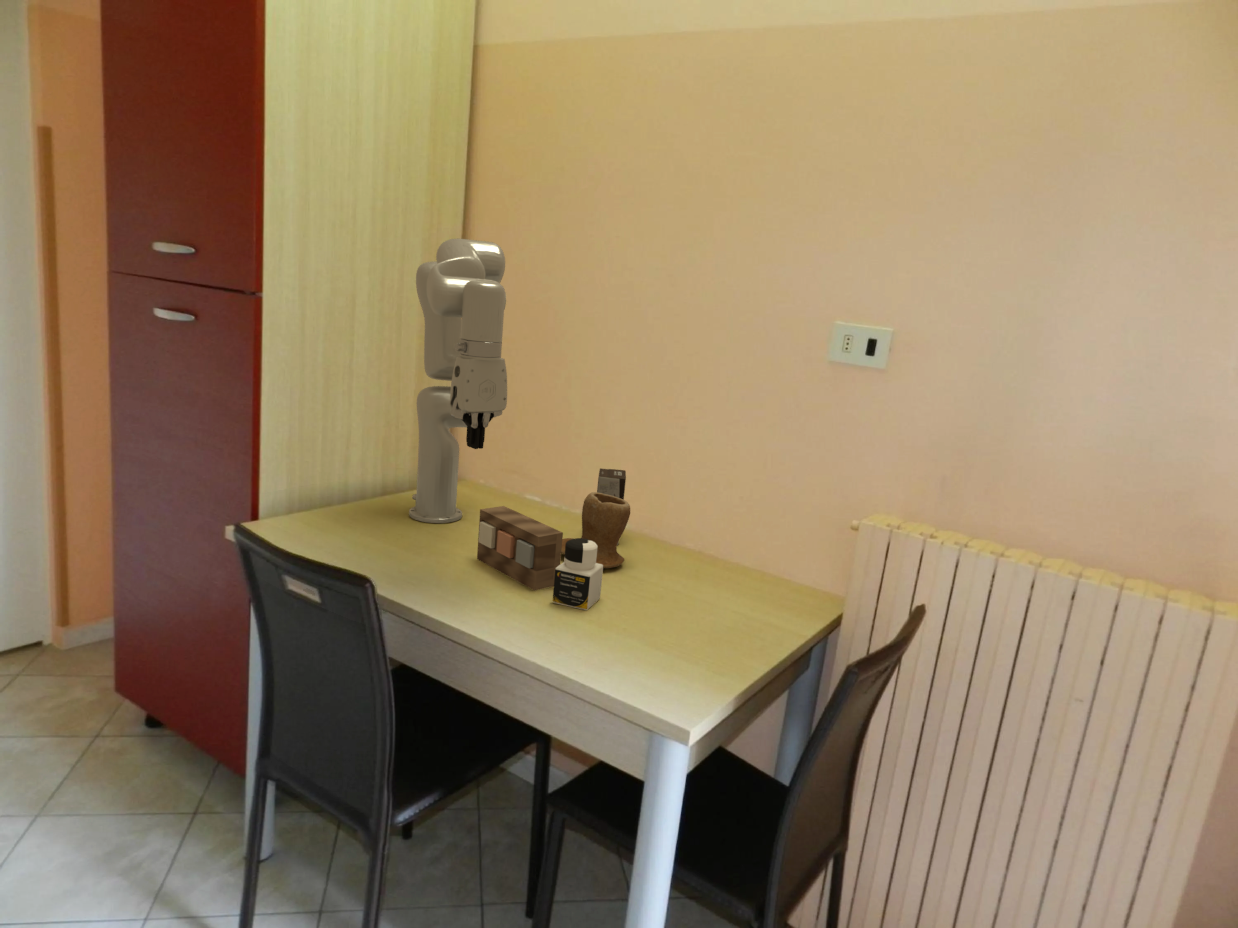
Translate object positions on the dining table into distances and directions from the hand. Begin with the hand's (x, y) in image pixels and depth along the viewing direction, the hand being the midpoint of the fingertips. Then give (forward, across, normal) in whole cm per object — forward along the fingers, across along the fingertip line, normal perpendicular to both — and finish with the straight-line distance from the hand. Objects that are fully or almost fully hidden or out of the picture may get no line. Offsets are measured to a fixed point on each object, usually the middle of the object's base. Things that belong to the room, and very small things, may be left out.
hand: (474, 447), depth 160 cm
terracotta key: (+23, +10, 0) cm, 25 cm away
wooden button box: (+27, +12, 0) cm, 30 cm away
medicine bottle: (+27, +13, -18) cm, 35 cm away
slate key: (+23, +10, -7) cm, 26 cm away
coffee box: (+27, +44, +8) cm, 52 cm away
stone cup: (+27, +31, -2) cm, 41 cm away
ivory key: (+23, +10, +6) cm, 26 cm away
